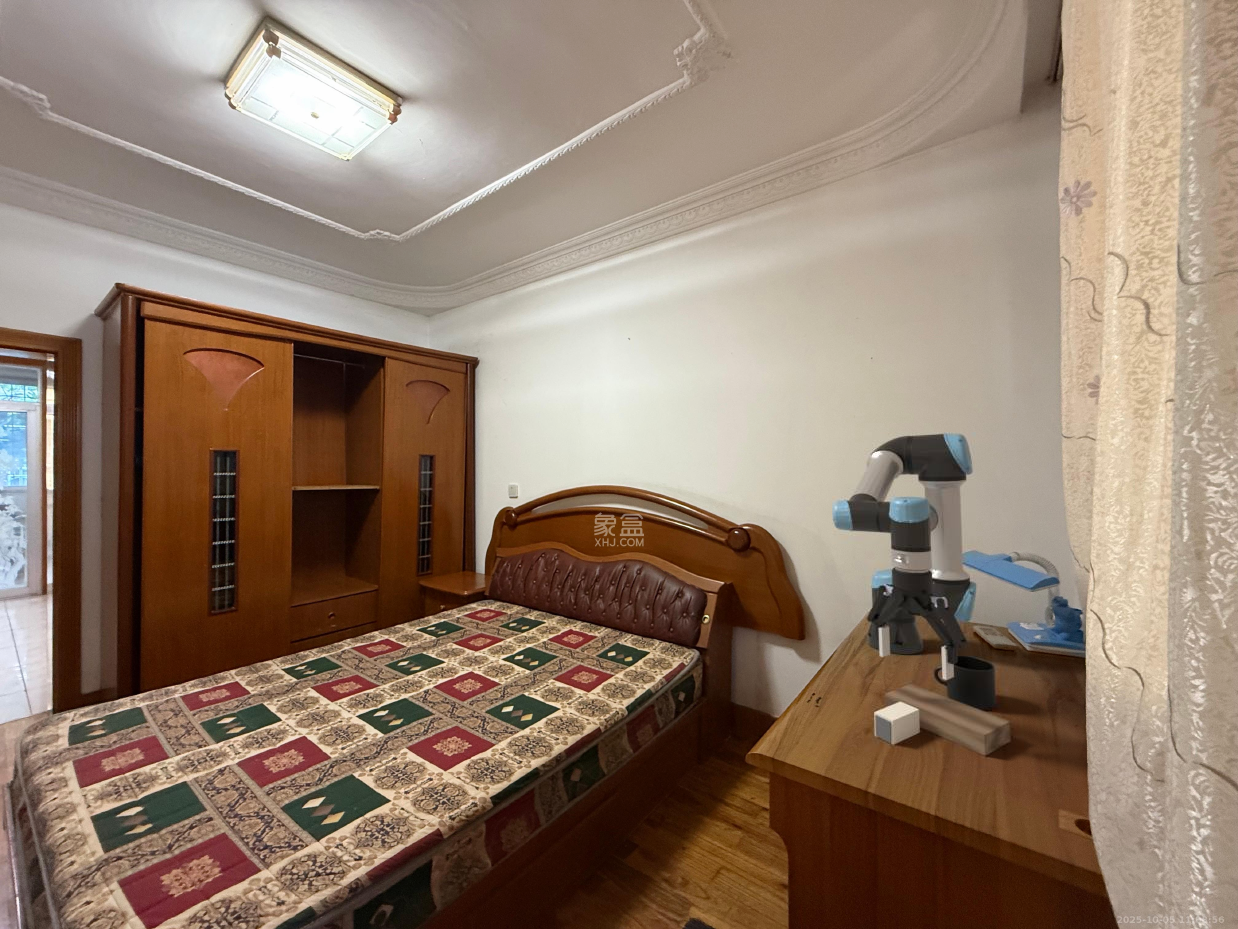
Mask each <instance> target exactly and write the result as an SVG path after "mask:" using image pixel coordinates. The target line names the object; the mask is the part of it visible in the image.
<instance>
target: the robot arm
mask: <svg viewBox="0 0 1238 929" xmlns="http://www.w3.org/2000/svg"><path fill="white" fill-rule="evenodd" d="M971 455H972V454H971V452H970V446H969V443H968V440H967V438H966V436H964V435H963V434H961V433H946V432H945V433H936V434H923V435H922V434H921V435H903V436H898V437H896V438H893V439H890V440H889V441H886V442H884V443H882V444H881V445H880V446H878V447H876V448H875V449H874V450H873V451H872V452H871V453H870V454H869V457H868V458H867V461H866V470H865V472H864V473H863V475H862V477H861V478H860V480H859V482H858V484H857V486H856V488H855V490H854V491H853V493H852V495H851V497H850V498H849V499H848V500H847V499H844V500H837V501H835V502H834V505H833V507H832V520H833V521H832V523H833V525H834V527H835V528H836V529H838V530H843V531H850V532H865V533H866V532H867V533H870V532H871V533H872V532H873V533H882V534H883V533H886V534H890V549H891V550H890V553H891V555H890V556H891V566H892V567H893V568H891V569H881V570H878V571H875V572H874V573H872V576H871V600H872V601H871V604H872V605H871V606H872V607H871V608H870V611H869V613H868V615H867V617H866V620H867V621H868V622H870V625H869V628H868V630H867V631H868V632H867V634H866V639H867V640H866V642H867V645H869V646H870V647H872V648H873V649H875V650H879V651H878V652H879V657H881V658H884V657H888V656H890V655H891V654H895V655H896V654H897V655H898V654H899V655H917V654H920V653H922V652H923V651H924V642H923V638H922V636H921V632H920V631H919V627H918V626H917V621H916V620H917V618H916V617H917V616H919V617H922V618H923V619H925V620H926V621H927V623H928V624H929V626H930V627H931V628H932V629H933V631H934V632H935V634H936V636H937V637H938V638H939V639H940V640H941V643H943V644H944V646H941V666H942V670H941V672H942V680H944V681H946V680H948V679H950V678H952V677H954V668H953V664H955V663H957V661H958V657H957V655H958V649H962V648H965V647H967V646H968V645H969V641H968V640H967V638H966V636H965V634H964V632H963V630H962V628H961V626H960V624H959V623H968V622H971V619H972V618H973V613H974V608H975V603H976V596H977V586H978V585H977V583H976V582H974V581H971V576H970V574H969V573H968V572H967V571H966V570H965V569H964V560H963V559H964V558H963V556H964V555H963V535H962V534H963V533H962V529H963V528H962V504H961V486H962V485H963V484H964V483H966V482H967V475H968V476H970V475H972V474H973V461H972V456H971ZM901 475H902V476H903V475H913V476H915V475H917V478H918V480H917V481H918V482H919V483H920V484H921V485H922V486H923V487H924V497H921V496H899V497H893V498H891V499H890V501H886V498H887V496H888V494H889V493H890V489H891V487H892V485H893V484H894V481H895V480H896V479H897V478H899V477H900V476H901Z"/></svg>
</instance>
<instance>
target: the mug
mask: <svg viewBox="0 0 1238 929" xmlns="http://www.w3.org/2000/svg"><path fill="white" fill-rule="evenodd" d="M957 657H958V661H957V663H955V664H953V668H954V677H952V678H950V679H948V680H944V679H941V677H940V676H939V673H940V671H942V665H939V666H937V667H935V669H934V671H933V676H934V679H935V680H936V681H937V682H938V683H939V684H941V685H943V686H945V687H946V695H947V696H946V697H948V698H950V699H953V700H955V701H958V702H961V703H963V704H966V705H969V706H971V707H974V708H976V709H979V710H982V711H989V710H992V709H994V708H995V707H996V705H997V697H996V695H997V694H996V692H997V691H996V667H995V665H994V664H993V663H991V662H989V661H988V660H985V659H982V658H978V657H974V656H969V655H962V654H959V655H958V654H957Z"/></svg>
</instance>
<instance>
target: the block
mask: <svg viewBox="0 0 1238 929" xmlns="http://www.w3.org/2000/svg"><path fill="white" fill-rule="evenodd" d="M873 715H874V716H873V718H874V723H873V724H874V736H875V737H877V738H879V739H881V740H883V741H884V742H887V743H889V744H890V745H894V746H895V745H896V744H898V743H900V742H902V741H904V740H907V739H909V738H910V737H911V738H912V737H913V736H915V735H917V734H919V733H921V730H920V728H921V727H920V725H919V709H917V708H915V707H912V706H910V705H907V704H905V703H903V702H898V703H896V704H893V705H891V706H888V707H886V706H885V707H884V708H881V709H878V710H876V711H874V714H873Z"/></svg>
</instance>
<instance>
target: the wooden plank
mask: <svg viewBox="0 0 1238 929" xmlns="http://www.w3.org/2000/svg"><path fill="white" fill-rule="evenodd" d="M884 696H885V708H886V707H888V706H891V705H893V704H896V703H898V702H903V703H905V704H907V705H910V706H912V707H915V708H917V709H919V725H920V728H921V729H924V730H926V731H928V732H930V733H933V734H935V735H937V736H940V737H941V738H944V739H946V740H948V741H950V742H953V743H955V744H957V745H959V746H962V747H964V748H966V749H968V750H971V751H973V752H974V753H977V754H980V755H982V756H984V757H986V756H988V755H989V754H992V753H993V752H995V751H996V750H998V749H1000V748H1001V747H1003V746H1005V745H1006V744H1008V743H1010V742H1011V741H1012V740H1011V739H1012V738H1011V721H1010V720H1008V719H1005V718H1002V717H1000V716H997V715H995V714H992V713H990V712H986V711H985V710H979V709H976V708H974V707H971V706H969V705H966V704H963V703H961V702H958V701H955V700H953V699H950V698H948V696H944V695H942V694H939V693H937V692H934V691H931V690H929V689H926V688H923V687H921V686H918V685H916V684H913V683H910V684H906V685H905V686H902V687H899V688H896V689H895V690H891V691H889V692H887V693H885V694H884Z"/></svg>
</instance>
